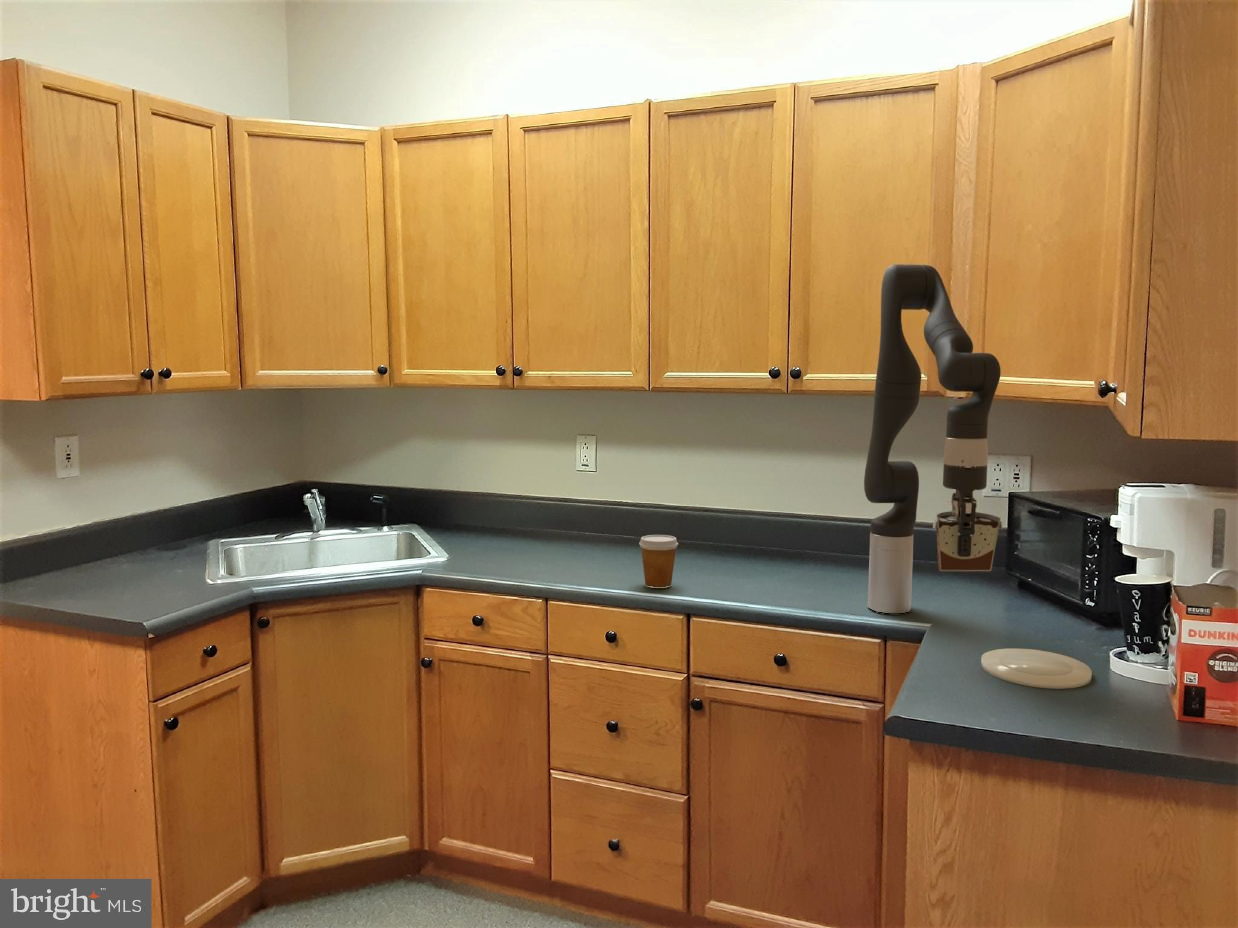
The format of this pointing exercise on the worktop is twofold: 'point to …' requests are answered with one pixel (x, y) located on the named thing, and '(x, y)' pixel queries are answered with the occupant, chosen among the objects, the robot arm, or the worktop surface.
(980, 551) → the food container
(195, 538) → the worktop surface
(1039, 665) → the plate
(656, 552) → the disposable coffee cup
